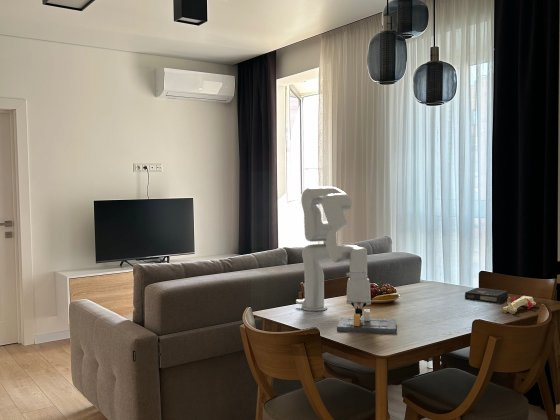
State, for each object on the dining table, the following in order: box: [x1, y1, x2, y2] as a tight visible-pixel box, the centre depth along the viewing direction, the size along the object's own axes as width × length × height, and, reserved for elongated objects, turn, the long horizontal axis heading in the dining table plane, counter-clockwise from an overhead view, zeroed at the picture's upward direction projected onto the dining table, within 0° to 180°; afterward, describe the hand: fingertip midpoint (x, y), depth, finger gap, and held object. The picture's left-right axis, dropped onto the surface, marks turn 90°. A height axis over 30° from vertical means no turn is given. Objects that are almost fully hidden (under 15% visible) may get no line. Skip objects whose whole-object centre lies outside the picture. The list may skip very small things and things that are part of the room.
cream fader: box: [363, 308, 371, 321], centre depth 243 cm, size 2×4×4 cm, turn 169°
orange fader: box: [353, 313, 360, 326], centre depth 235 cm, size 2×4×4 cm, turn 169°
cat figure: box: [501, 295, 537, 315], centre depth 269 cm, size 10×9×25 cm
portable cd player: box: [464, 287, 509, 304], centre depth 293 cm, size 16×17×4 cm
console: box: [336, 317, 397, 335], centre depth 239 cm, size 24×16×2 cm, turn 79°
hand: (358, 317), depth 244 cm, fingers closed
